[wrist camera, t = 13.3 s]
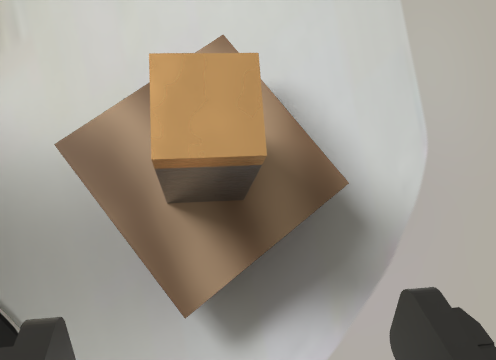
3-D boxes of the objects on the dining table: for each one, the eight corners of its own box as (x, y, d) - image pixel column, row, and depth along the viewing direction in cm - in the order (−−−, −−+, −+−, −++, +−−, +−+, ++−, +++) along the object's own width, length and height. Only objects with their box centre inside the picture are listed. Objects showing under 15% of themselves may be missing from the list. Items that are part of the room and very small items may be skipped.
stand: (186, 313, 31) (185, 318, 26) (74, 164, 33) (54, 144, 28) (328, 197, 34) (349, 183, 30) (220, 67, 36) (223, 34, 31)
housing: (243, 199, 29) (266, 155, 19) (167, 203, 28) (151, 159, 18) (238, 128, 30) (258, 53, 20) (165, 130, 29) (149, 53, 20)
